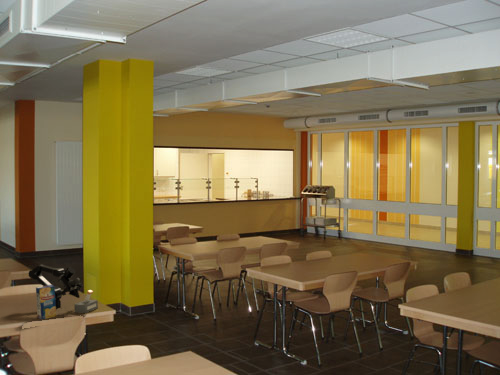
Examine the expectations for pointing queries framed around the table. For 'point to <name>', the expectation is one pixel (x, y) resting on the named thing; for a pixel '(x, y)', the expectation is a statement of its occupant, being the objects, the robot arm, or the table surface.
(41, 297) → the blue cracker box
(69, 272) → the robot arm
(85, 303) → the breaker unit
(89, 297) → the breaker lever
